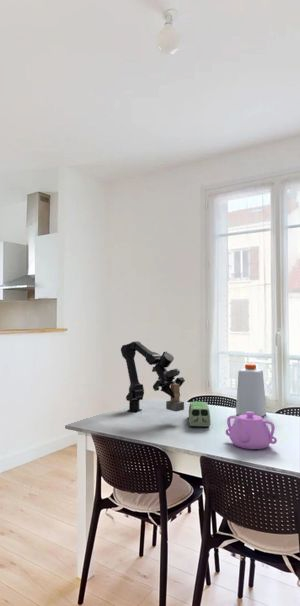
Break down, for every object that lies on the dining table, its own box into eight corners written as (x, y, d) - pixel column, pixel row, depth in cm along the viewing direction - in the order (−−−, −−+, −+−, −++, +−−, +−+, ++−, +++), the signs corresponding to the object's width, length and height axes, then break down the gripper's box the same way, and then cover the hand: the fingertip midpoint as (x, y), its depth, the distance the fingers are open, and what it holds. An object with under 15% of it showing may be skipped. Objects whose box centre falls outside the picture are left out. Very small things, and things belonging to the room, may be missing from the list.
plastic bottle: (261, 418, 202) (261, 366, 204) (234, 415, 209) (233, 365, 211) (267, 413, 215) (266, 364, 217) (241, 410, 222) (241, 362, 224)
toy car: (207, 417, 207) (207, 398, 207) (211, 429, 182) (211, 408, 182) (188, 416, 208) (188, 398, 208) (189, 429, 183) (189, 408, 183)
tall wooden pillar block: (166, 409, 195) (166, 383, 196) (174, 407, 199) (174, 382, 199) (175, 411, 190) (175, 385, 190) (183, 409, 193) (183, 384, 194)
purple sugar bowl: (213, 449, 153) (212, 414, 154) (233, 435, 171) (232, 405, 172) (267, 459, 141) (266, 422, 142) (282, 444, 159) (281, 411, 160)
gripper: (156, 364, 192) (171, 389, 183) (182, 362, 204) (197, 385, 195) (146, 378, 198) (160, 402, 189) (172, 375, 210) (186, 398, 201)
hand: (176, 396), depth 193 cm, fingers closed on tall wooden pillar block, 3 cm apart
